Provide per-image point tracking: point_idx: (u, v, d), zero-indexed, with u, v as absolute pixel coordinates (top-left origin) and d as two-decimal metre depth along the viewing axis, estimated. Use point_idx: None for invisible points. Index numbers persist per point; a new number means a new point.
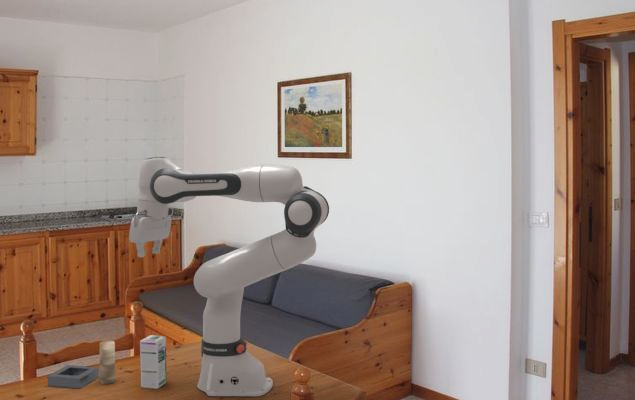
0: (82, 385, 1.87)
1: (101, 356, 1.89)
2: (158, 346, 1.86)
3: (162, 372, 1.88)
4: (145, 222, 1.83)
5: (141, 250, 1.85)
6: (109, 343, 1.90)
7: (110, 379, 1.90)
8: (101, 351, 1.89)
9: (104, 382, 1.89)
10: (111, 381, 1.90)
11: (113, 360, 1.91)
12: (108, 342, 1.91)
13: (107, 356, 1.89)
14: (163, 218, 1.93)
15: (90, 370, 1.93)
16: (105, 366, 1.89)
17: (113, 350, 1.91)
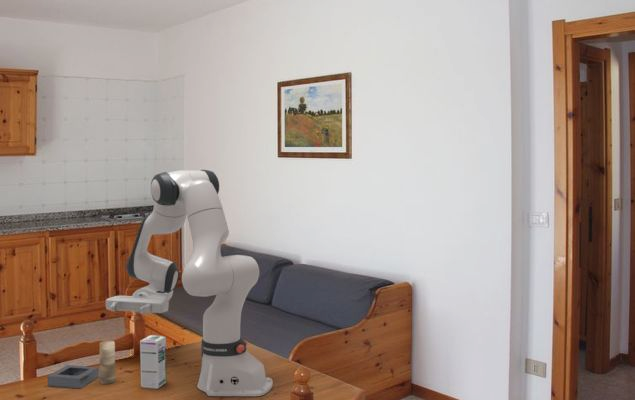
0: (82, 385, 1.87)
1: (101, 356, 1.89)
2: (158, 346, 1.86)
3: (162, 372, 1.88)
4: (121, 296, 2.14)
5: None
6: (109, 343, 1.90)
7: (110, 379, 1.90)
8: (101, 351, 1.89)
9: (104, 382, 1.89)
10: (111, 381, 1.90)
11: (113, 360, 1.91)
12: (108, 342, 1.91)
13: (107, 356, 1.89)
14: None
15: (90, 370, 1.93)
16: (105, 366, 1.89)
17: (113, 350, 1.91)
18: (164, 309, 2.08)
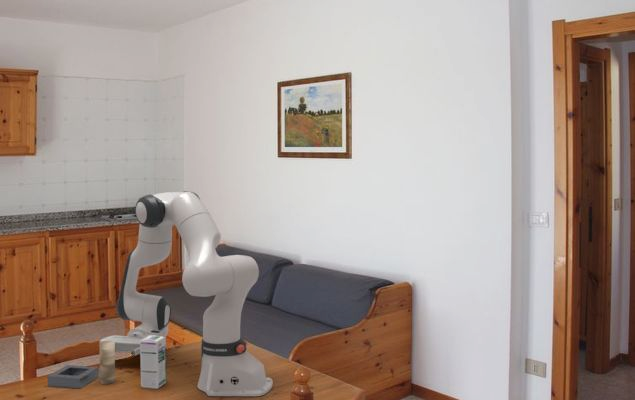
0: (82, 385, 1.87)
1: (101, 356, 1.89)
2: (158, 346, 1.86)
3: (162, 372, 1.88)
4: (115, 336, 2.10)
5: None
6: (109, 343, 1.90)
7: (110, 379, 1.90)
8: (101, 351, 1.89)
9: (104, 382, 1.89)
10: (111, 381, 1.90)
11: (113, 360, 1.91)
12: (108, 342, 1.91)
13: (107, 356, 1.89)
14: None
15: (90, 370, 1.93)
16: (105, 366, 1.89)
17: (113, 350, 1.91)
18: None
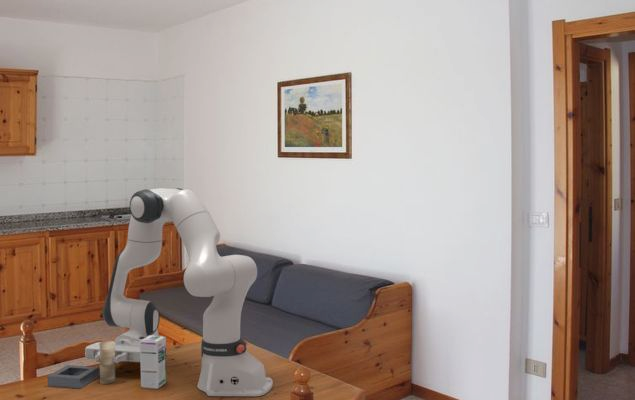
0: (82, 385, 1.87)
1: (101, 356, 1.89)
2: (158, 346, 1.86)
3: (162, 372, 1.88)
4: None
5: None
6: (109, 343, 1.90)
7: (110, 379, 1.90)
8: (101, 351, 1.89)
9: (104, 382, 1.89)
10: (111, 381, 1.90)
11: None
12: (108, 342, 1.91)
13: (107, 356, 1.89)
14: None
15: (90, 370, 1.93)
16: (105, 366, 1.89)
17: (113, 350, 1.91)
18: None
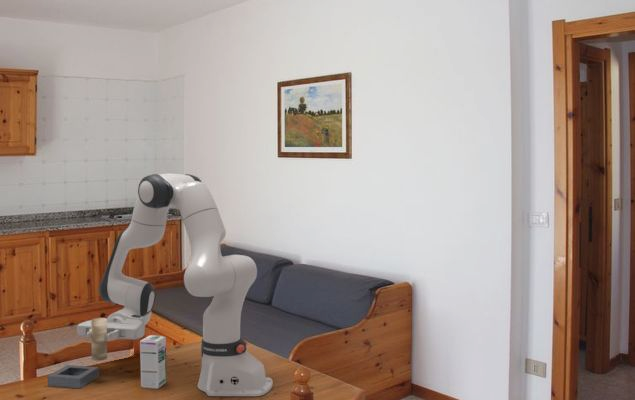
0: (82, 385, 1.87)
1: (93, 333, 1.89)
2: (158, 346, 1.86)
3: (162, 372, 1.88)
4: None
5: None
6: (101, 320, 1.90)
7: (102, 356, 1.90)
8: (93, 328, 1.89)
9: (96, 359, 1.89)
10: (103, 358, 1.90)
11: None
12: (100, 319, 1.91)
13: (99, 333, 1.89)
14: None
15: (90, 370, 1.93)
16: (97, 343, 1.89)
17: (105, 327, 1.90)
18: (139, 335, 1.96)
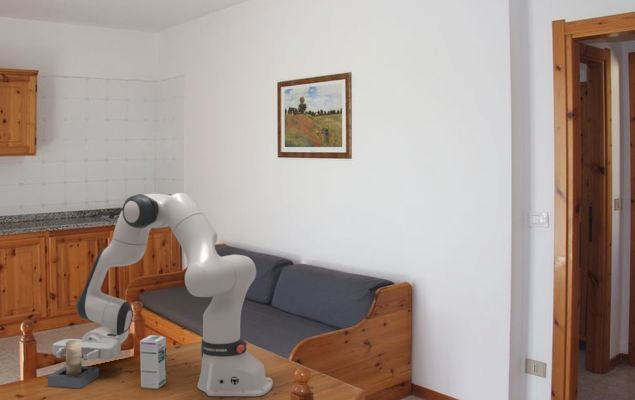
0: (82, 385, 1.87)
1: (67, 356, 1.89)
2: (158, 346, 1.86)
3: (162, 372, 1.88)
4: (70, 339, 2.02)
5: None
6: (75, 343, 1.90)
7: None
8: (67, 351, 1.89)
9: None
10: None
11: (79, 360, 1.90)
12: (75, 342, 1.91)
13: (73, 356, 1.89)
14: None
15: (90, 370, 1.93)
16: (71, 366, 1.89)
17: (79, 350, 1.90)
18: (114, 355, 1.96)
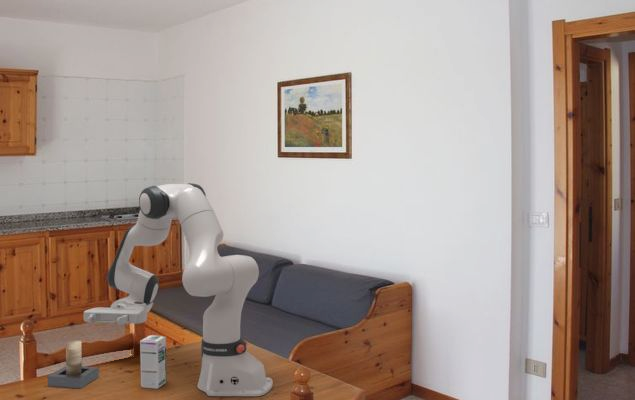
0: (82, 385, 1.87)
1: (67, 356, 1.89)
2: (158, 346, 1.86)
3: (162, 372, 1.88)
4: (99, 307, 2.15)
5: None
6: (75, 343, 1.90)
7: None
8: (67, 351, 1.89)
9: None
10: None
11: (79, 360, 1.90)
12: (75, 342, 1.91)
13: (73, 356, 1.89)
14: None
15: (90, 370, 1.93)
16: (71, 366, 1.89)
17: (79, 350, 1.90)
18: (142, 320, 2.09)
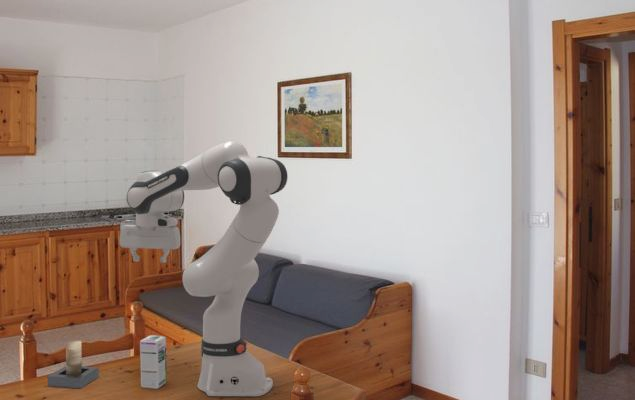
0: (82, 385, 1.87)
1: (67, 356, 1.89)
2: (158, 346, 1.86)
3: (162, 372, 1.88)
4: (127, 229, 2.06)
5: None
6: (75, 343, 1.90)
7: None
8: (67, 351, 1.89)
9: None
10: None
11: (79, 360, 1.90)
12: (75, 342, 1.91)
13: (73, 356, 1.89)
14: (155, 228, 2.04)
15: (90, 370, 1.93)
16: (71, 366, 1.89)
17: (79, 350, 1.90)
18: (179, 240, 2.07)
